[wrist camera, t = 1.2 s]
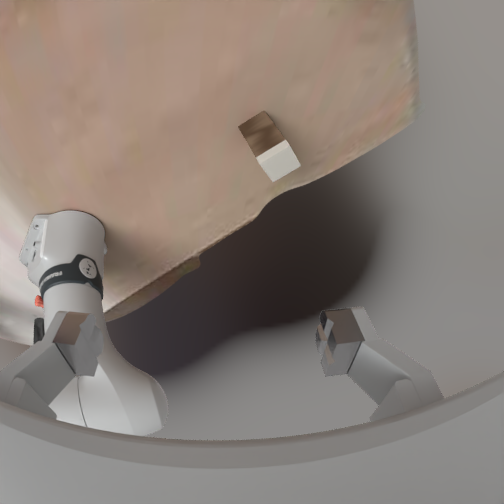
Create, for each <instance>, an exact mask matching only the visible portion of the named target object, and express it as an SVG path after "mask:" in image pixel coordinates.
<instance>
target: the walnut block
mask: <svg viewBox="0 0 504 504" xmlns="http://www.w3.org/2000/svg"><path fill="white" fill-rule="evenodd" d="M238 127H239V129H240V131H241V133H242V134H243V136H244V138H245V139H246V141H247V143H248V145H249V146H250V148H251V150H252V152H253V153H254V155H255V157H256V159H257V160H258V162H259V164H260V165H261V167H262V168H263V169H264V171H265V172H266V173H267V175H268V176H269V178H270V179H271V180H272V182H274V181H276V180H278V179H279V178H281V177H283V176H285V175H286V174H288V173H290V172H291V171H293V170H295V169H296V168H298V167H300V166H301V165H300V163H299V161H298V159H297V157H296V156H295V154H294V152H293V150H292V148H291V146H290V145H289V143H288V142H287V141H286V139H285V138H284V137H283V135H282V134H281V133H280V131H279V130H278V128H277V127H276V126H275V124H274V123H273V122H272V120H271V119H270V118H269V117H268V115H267V114H266V113H265V111H263V112H261V113H259V114H258V115H256V116H254V117H253V118H251V119H249V120H248V121H246V122H244V123H243V124H241V125H240V126H238Z"/></svg>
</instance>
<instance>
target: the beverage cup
mask: <svg viewBox="0 0 504 504" xmlns="http://www.w3.org/2000/svg"><path fill="white" fill-rule="evenodd" d="M44 335H45V331H44V319H43V318H37V319H35V322H34V344H35V343H36V342H38V341H42V339H43V337H44Z"/></svg>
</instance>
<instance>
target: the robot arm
mask: <svg viewBox="0 0 504 504" xmlns="http://www.w3.org/2000/svg"><path fill="white" fill-rule="evenodd" d="M104 238H105V230H104V227H103V225H102V224H101V223H100V222H99V221H98V220H97V219H96V218H95V217H93V216H91V215H89V214H87V213H84V212H80V211H61V212H58V213H54V214H50V215H36V216H35V217H34V218H33V220H32V223H31V225H30V228H29V230H28V233H27V236H26V238H25V241H24V244H23V246H22V249H21V252H20V256H19V260H20V261H21V263H22V264H24V265H25V266H26V267H28V278H29V280H30V281H31V282H32V283H33V284H35V285H36V286H38V287H39V289H40V293H41V296H39V295H37V296H36V299H35V305H36V306H40V307H42V308H44V331H45V335H44V337H43V339H42V341H38V342H36V343H35V344H34V345H32V346H31V347H30V348H29V349H27V350H26V351H25V352H23V353H22V354H21V355H19V356H18V357H17V358H16V359H14V360H13V361H12V362H11V363H9V364H8V365H7V366H6V367H4V368H3V369H2V370H1V371H0V504H504V371H503V372H501V373H499V374H497V375H495V376H493V377H491V378H490V379H488V380H485V381H483V382H481V383H479V384H477V385H475V386H473V387H471V388H468V389H466V390H464V391H461V392H459V393H457V394H454V395H452V396H449V397H447V398H444V397H443V395H442V393H441V391H440V389H439V387H438V385H437V383H436V381H435V379H434V377H433V375H432V373H431V371H430V370H428V369H427V368H425V367H424V366H422V365H421V364H420V363H418V362H417V361H415V360H414V359H412V358H411V357H409V356H408V355H406V354H405V353H403V352H402V351H400V350H399V349H398V348H396V347H395V346H393V345H392V344H390V343H389V342H387V341H386V340H384V339H379V337H378V335H377V333H376V331H375V329H374V327H373V325H372V323H371V321H370V319H369V317H368V315H367V313H366V311H365V309H364V308H363V307H353V308H343V309H333V310H323V311H322V312H321V314H320V318H319V319H320V322H321V324H320V325H319V326H318V327H317V330H316V346H317V350H318V352H319V353H320V354H321V355H322V356H323V357H322V360H321V364H322V367H323V371H324V374H325V376H333V375H342V374H347V375H348V376H349V377H350V378H351V379H352V380H353V381H354V382H355V383H356V384H357V385H358V386H359V387H360V388H361V389H362V390H363V391H365V393H367V395H369V396H370V397H371V398H372V399H373V400H374V401H375V402H376V403H377V404H378V405H379V406H378V408H377V409H376V410H375V412H374V413H373V414H372V416H371V417H370V421H371V422H368V423H363V424H359V425H354V426H350V427H345V428H340V429H335V430H329V431H323V432H317V433H311V434H304V435H296V436H287V437H277V438H266V439H251V440H222V441H221V440H213V441H212V440H181V439H166V438H154V437H145V436H146V435H149V434H151V433H154V432H156V431H158V430H161V429H162V428H163V426H164V425H165V423H166V420H167V416H168V401H167V397H166V395H165V393H164V391H163V389H162V387H161V386H160V384H159V383H158V382H156V380H155V379H154V378H153V377H151V376H150V375H148V374H147V373H145V372H143V371H140V370H139V369H137V368H135V367H134V366H132V365H131V364H129V363H128V362H127V361H126V360H125V359H124V358H123V357H122V356H121V355H120V354H119V353H118V351H117V350H116V349H115V347H114V346H113V344H112V342H111V340H110V338H109V335H108V332H107V328H106V324H105V319H104V314H103V308H102V299H103V285H102V280H103V276H104V255H105V254H106V253H107V246H106V244H105V242H104ZM75 374H76V375H82V376H79V377H75V376H76V375H75Z"/></svg>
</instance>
